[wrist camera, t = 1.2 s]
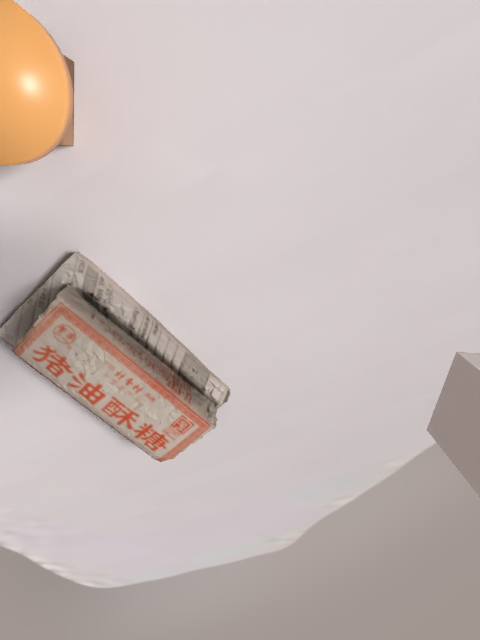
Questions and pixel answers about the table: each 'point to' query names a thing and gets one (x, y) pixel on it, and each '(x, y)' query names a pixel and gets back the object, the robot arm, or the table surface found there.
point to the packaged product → (116, 359)
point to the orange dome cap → (30, 88)
